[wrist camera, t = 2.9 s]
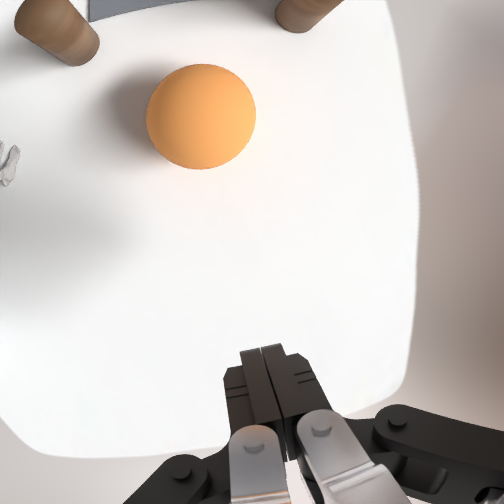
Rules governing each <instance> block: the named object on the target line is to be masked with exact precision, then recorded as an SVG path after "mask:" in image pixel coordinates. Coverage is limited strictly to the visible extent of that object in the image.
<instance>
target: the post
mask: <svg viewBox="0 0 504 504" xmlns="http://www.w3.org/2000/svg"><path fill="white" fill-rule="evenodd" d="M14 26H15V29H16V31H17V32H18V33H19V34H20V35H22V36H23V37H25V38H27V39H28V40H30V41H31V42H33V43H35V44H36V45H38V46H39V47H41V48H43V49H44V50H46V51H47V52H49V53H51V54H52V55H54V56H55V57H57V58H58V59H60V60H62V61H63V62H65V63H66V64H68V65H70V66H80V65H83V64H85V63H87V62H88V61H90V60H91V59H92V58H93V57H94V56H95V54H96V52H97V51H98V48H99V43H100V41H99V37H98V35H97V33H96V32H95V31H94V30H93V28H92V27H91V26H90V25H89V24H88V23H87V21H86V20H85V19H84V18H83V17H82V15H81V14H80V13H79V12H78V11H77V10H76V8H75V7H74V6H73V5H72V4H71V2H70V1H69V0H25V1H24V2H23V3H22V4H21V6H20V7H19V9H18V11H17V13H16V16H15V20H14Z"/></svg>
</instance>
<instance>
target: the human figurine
mask: <svg viewBox="0 0 504 504" xmlns="http://www.w3.org/2000/svg"><path fill="white" fill-rule="evenodd" d="M3 148H4V142H3V141H2V142H1V141H0V159H1V155H2V152H3ZM14 150H15V151H14ZM19 157H20V150H19V148H18V147H16V148H15V145H14V146H13V148H12V149H11V151H10V154H9V159H8V162H7V163H6V165H5V167H4V168H3V169H2V170H1V169H0V180H1V181H2V183H3V185H4V186H5V187H6V186H7V185H8V184H9V183H10V182H11V180H12V179H13V177H14V173H15V167H16V163H17V161H18V159H19Z"/></svg>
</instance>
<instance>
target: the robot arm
mask: <svg viewBox="0 0 504 504" xmlns="http://www.w3.org/2000/svg"><path fill="white" fill-rule="evenodd" d="M240 356H241V361H242V365H241V366H236V367H231V368H228V369H227V371H226V373H225V376H224V378H223V380H224V388H225V395H226V402H227V409H228V416H229V423H230V429H231V436H230V439H229V442H228V443H227V445H226V446H225V447H224V448H223V449H222V450H220V451H219V452H217V453H215V454H213V455H211V456H208V457H206V458H204V459H200V458H198V457H196V456H193V455H188V454H182V455H176V456H173V457H171V458H169V459H167V460H166V461H165V462H164V463H163V464H162V465H161V466H160V467H159V468H158V469H157V470H156V471H155V472H154V473H153V474H152V475H151V476H150V477H149V478H148V479H147V480H146V481H145V482H144V483H143V484H142V485H141V486H140V487H139V488H138V489H137V490H136V491H135V492H134V493H133V494H132V495H131V496H130V497H129V498H128V499H127V500H126V501H125V502H124V503H123V504H291V500H290V496H289V492H288V487H287V481H286V471H285V463H284V462H287V455H286V451H287V454H288V458H289V460H290V461H291V460H295V459H297V461H298V464H299V467H300V473H301V479H302V481H303V484H304V486H305V488H306V490H307V492H308V494H309V497H310V499H311V501H312V503H313V504H412V503H411V502H410V500H409V499H408V498H407V496H410V497H413V498H416V499H419V500H422V501H425V502H428V503H431V504H504V431H500V430H495V429H491V428H487V427H482V426H478V425H474V424H470V423H466V422H462V421H459V420H455V419H451V418H447V417H444V416H440V415H437V414H433V413H429V412H426V411H423V410H420V409H416V408H413V407H409V406H406V405H401V404H395V405H390V406H387V407H385V408H383V409H381V410H380V411H379V412H378V413H377V415H376V417H375V418H372V419H359V420H355V419H354V420H353V419H348V418H344V417H342V416H341V415H340V414H338V413H337V412H334V410H333V409H332V408H331V406H330V404H329V402H328V400H327V398H326V396H325V394H324V392H323V390H322V388H321V386H320V384H319V382H318V380H317V379H316V376H315V374H314V372H313V371H312V368H311V366H310V364H309V362H308V360H307V359H305V358H304V357H302V356H301V355H300V354H298V353H296V354H292V355H288V356H286V354H285V352H284V350H283V347H282V345H281V343H279V344H274V345H269V346H265V347H261V351H260V348H256V349H251V350H246V351H241V352H240ZM406 495H407V496H406Z"/></svg>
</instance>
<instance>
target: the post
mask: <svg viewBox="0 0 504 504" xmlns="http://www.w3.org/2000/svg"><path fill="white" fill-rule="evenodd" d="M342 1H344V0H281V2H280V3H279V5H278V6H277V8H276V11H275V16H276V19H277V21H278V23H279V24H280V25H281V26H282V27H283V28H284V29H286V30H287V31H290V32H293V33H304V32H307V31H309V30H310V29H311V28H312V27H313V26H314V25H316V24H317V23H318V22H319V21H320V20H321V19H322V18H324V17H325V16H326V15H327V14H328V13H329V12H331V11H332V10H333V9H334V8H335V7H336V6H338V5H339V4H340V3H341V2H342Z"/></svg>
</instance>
